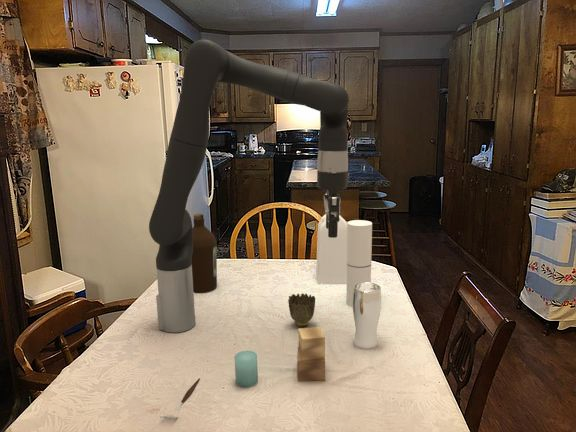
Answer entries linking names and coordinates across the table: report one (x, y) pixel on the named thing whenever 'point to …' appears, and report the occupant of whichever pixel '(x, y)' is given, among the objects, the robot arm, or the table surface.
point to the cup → (301, 308)
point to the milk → (332, 254)
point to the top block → (311, 343)
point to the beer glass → (366, 314)
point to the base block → (310, 369)
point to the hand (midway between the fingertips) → (331, 232)
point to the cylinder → (246, 369)
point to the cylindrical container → (358, 255)
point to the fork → (183, 400)
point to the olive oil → (203, 257)
